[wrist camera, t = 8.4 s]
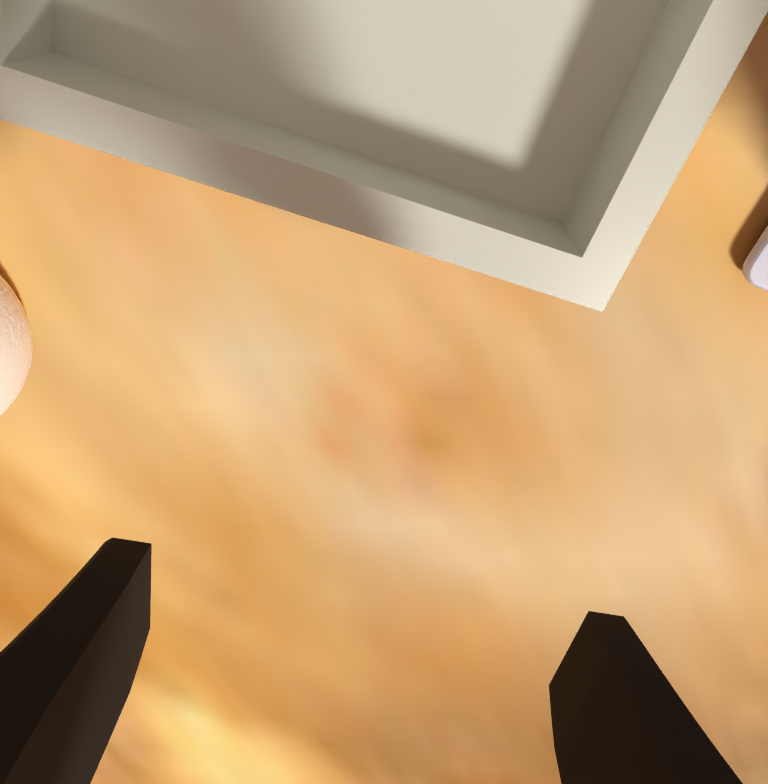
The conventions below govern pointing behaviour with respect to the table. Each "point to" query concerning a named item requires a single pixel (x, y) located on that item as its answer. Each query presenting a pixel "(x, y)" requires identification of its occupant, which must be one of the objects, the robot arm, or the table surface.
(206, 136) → the tray
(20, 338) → the garlic bulb
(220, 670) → the table surface
